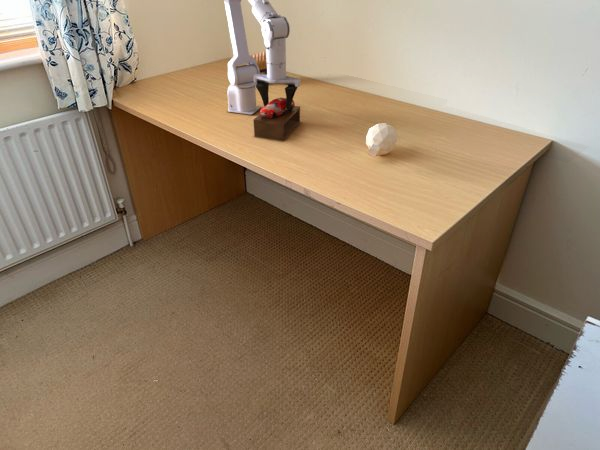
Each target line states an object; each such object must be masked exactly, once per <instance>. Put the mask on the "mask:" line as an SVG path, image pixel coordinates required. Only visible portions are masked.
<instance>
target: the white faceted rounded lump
mask: <svg viewBox="0 0 600 450" xmlns="http://www.w3.org/2000/svg"><path fill="white" fill-rule="evenodd" d="M397 143H398V133H397V131H396V130H395V128H394V126H393V125H390V124H388V123H386V122H382V123H381V122H380V123H377V124H375V125H373V126H371V127H369V129H368V131H367V133H366V135H365V145H366V146H367V148H368V152H367V155H368V156H371V157H373V158H376V157H377V156H382V155H387V154H388V153H390V152H393V150H394V149H395V147H396V145H397Z"/></svg>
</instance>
